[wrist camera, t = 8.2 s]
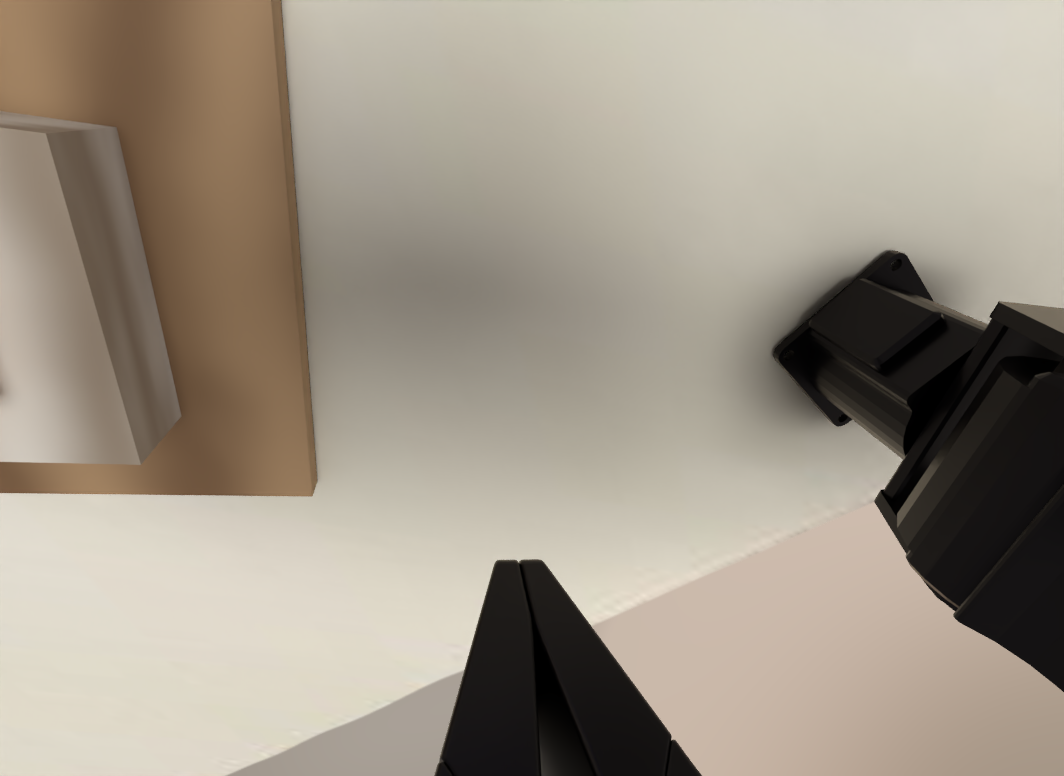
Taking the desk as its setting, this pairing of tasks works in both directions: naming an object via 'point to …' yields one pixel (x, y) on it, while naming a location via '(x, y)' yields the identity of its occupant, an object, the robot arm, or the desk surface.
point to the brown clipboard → (150, 252)
